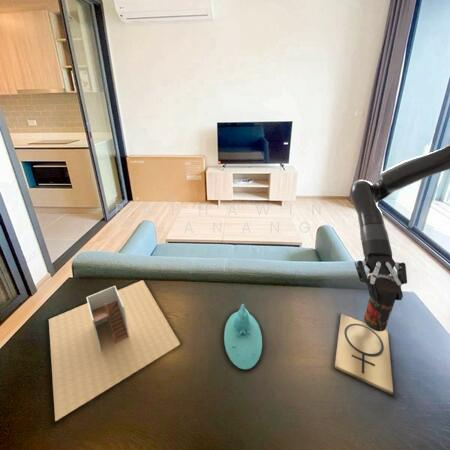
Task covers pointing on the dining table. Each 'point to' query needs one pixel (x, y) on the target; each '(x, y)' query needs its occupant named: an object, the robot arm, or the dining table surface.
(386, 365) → the sketch board
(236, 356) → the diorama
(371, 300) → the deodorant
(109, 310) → the staircase
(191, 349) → the dining table surface
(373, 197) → the robot arm
